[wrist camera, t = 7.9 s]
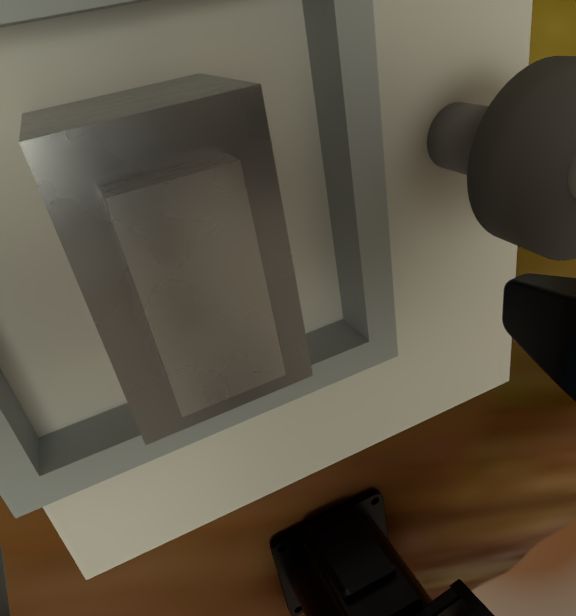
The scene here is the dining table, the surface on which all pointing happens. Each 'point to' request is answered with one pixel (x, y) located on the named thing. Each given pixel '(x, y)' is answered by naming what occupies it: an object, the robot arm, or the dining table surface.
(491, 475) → the dining table surface
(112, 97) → the block
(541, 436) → the dining table surface
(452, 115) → the chassis
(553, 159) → the wheel
